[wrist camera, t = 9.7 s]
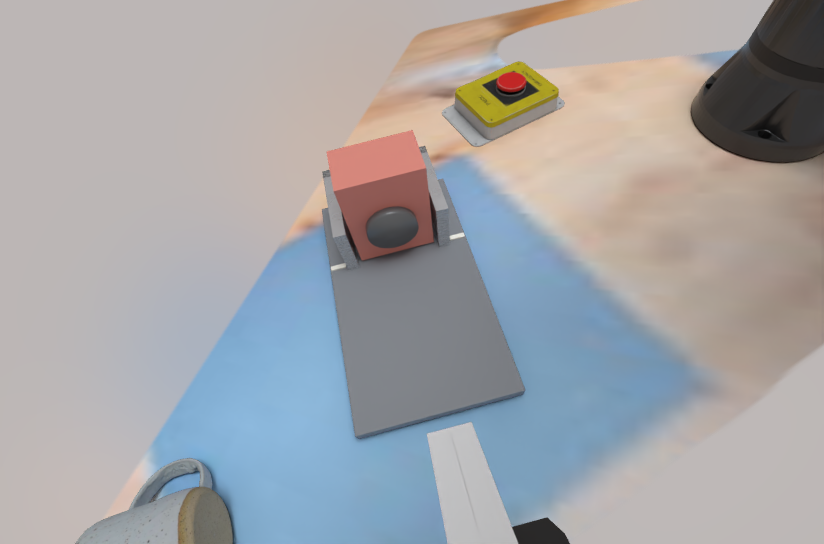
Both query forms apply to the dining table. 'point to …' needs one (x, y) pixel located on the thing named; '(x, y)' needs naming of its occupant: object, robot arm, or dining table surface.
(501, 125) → the emergency button
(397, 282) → the stand board
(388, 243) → the pink box with dome
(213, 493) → the ceramic mug
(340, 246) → the grey box holder bracket
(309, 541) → the dining table surface
